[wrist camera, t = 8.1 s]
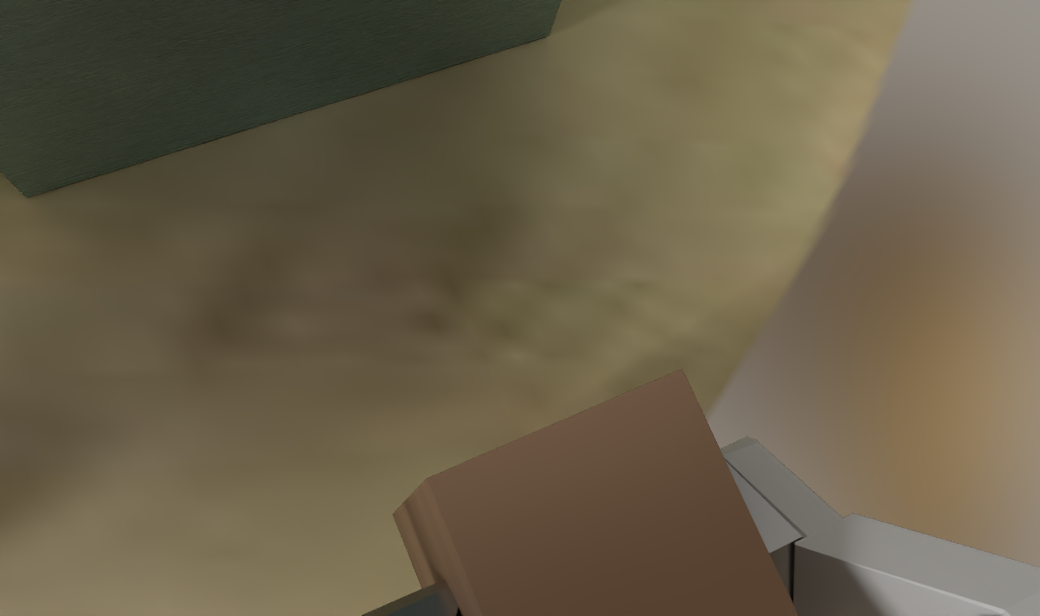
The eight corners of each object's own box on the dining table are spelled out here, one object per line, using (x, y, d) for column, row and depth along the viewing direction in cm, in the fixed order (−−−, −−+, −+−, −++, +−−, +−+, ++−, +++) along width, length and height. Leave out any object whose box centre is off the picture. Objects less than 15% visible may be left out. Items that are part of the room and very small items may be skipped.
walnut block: (626, 680, 14) (889, 809, 7) (487, 754, 14) (628, 974, 7) (528, 454, 15) (682, 368, 8) (393, 513, 14) (426, 479, 7)
